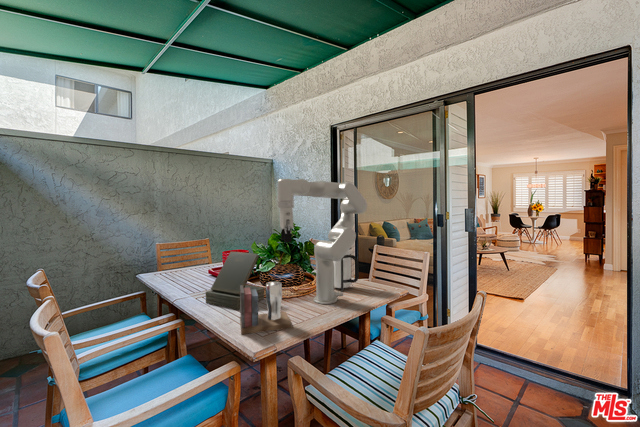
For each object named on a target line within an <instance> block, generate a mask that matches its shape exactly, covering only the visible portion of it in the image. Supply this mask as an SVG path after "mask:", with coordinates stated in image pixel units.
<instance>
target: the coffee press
mask: <svg viewBox="0 0 640 427" xmlns="http://www.w3.org/2000/svg"><path fill="white" fill-rule="evenodd" d="M352 247H353V246H351V248H350V249H349V250H348V252H347V253H346V254H345V256H344V257H343V258H342V259H341V260H339V261H333V263H334V289H340V292H343V293H344V289H347V288H351V289H354V286H353V284H354V283H356V282H358V281H359V273H360V272H359V268H360V267H359V260H358V257H357V256H355V255H353V254H352ZM352 259H353V260H354V269H355V270H354V272H355V273H354V279H352Z"/></svg>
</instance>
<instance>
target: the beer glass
mask: <svg viewBox="0 0 640 427" xmlns="http://www.w3.org/2000/svg"><path fill="white" fill-rule="evenodd" d="M282 285H283V284H282V282H280V281H270V282H269V281H268V282H266V283H265V302H266V307H267V313H266V314H267V320H269V321H277V320H280V319H281V313H280V312H281V305H282V300H283V287H282Z"/></svg>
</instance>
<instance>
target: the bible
mask: <svg viewBox="0 0 640 427" xmlns="http://www.w3.org/2000/svg"><path fill="white" fill-rule="evenodd" d="M258 254H259V253H253V252H252V253H251V252H242V251H241V252H240V251H230V252H229V254H228V255H227V258H226V259H225V261H224V263H223V265H222V267H221V269H220V271H219V272H218V274H217V276H216V278H215V280H214V282H213V284H212V285H211V288H210V289H209V290H205V303H206V304H208V303H209V304H210V305H213V304H214V305H213V306H219V307H224V308H228V309H233V310H236V311H237V310H238V311H239V310H240V285H243V288H249V287H250V290H252V289H256V291H257V294H258V302H260V301H262V300H264V299H265V297H266V294H265V287H262V286H255V285H248V284H247V283H248V281H249V279H250V277H251V275H252V272H253V271H254V269H255V266H256V264H257V262H258V260H259V258H260V255H258Z"/></svg>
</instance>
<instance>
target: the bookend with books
mask: <svg viewBox="0 0 640 427" xmlns="http://www.w3.org/2000/svg"><path fill="white" fill-rule="evenodd" d="M239 310H240V314H239V315H240V316H239V323H240V335H246V334H247V335H249V334H255V333H256V334H257V333H262V332H269V331H270V332H272V331H279V330H285V329H286V330H287V329H292V328H293V327H292V324H293V323H292V322H291V320H290V318H289V316H288V313H287V312H286V311H280V313H281V319H280V320H277V321H269V320H267V314H268V313H261V314H259V301H258V294H257V291H256V289H252V290H250V287H249V288H243V285H240V309H239Z"/></svg>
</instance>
